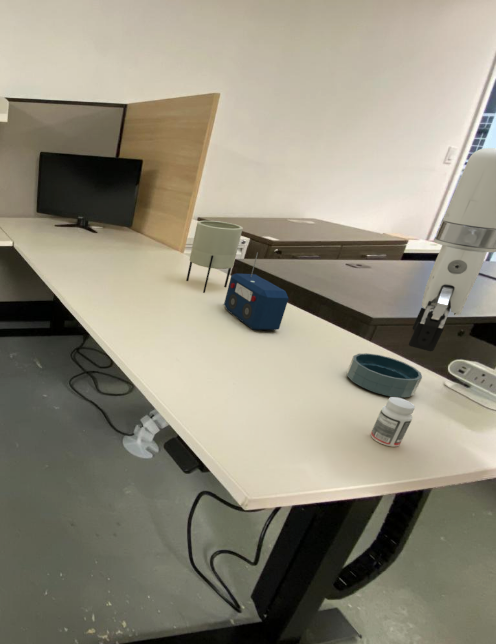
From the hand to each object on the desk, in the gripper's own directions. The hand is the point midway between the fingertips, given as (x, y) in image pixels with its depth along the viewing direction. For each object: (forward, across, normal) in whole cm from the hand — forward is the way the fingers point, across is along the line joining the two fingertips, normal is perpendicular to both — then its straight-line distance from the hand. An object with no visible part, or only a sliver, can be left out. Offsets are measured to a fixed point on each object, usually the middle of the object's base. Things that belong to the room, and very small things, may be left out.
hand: (421, 339), depth 77 cm
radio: (+22, +51, +38) cm, 68 cm away
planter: (+22, +74, +61) cm, 99 cm away
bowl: (+22, +31, +2) cm, 38 cm away
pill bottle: (+22, +4, -1) cm, 22 cm away
